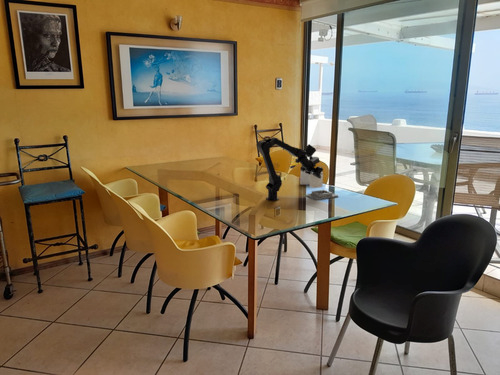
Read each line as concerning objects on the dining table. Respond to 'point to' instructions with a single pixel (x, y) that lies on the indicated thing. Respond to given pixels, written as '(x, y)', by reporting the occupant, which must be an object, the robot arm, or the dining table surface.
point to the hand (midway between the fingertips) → (318, 177)
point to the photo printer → (305, 178)
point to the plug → (316, 180)
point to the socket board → (321, 195)
